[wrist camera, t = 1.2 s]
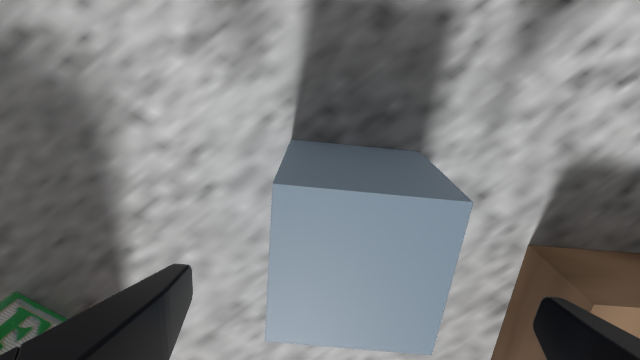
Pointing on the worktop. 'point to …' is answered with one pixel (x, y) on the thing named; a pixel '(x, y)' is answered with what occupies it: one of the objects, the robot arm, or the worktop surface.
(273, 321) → the slate cube
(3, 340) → the stack of blocks
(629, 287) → the walnut block
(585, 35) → the worktop surface
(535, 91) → the worktop surface
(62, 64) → the worktop surface
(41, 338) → the robot arm
